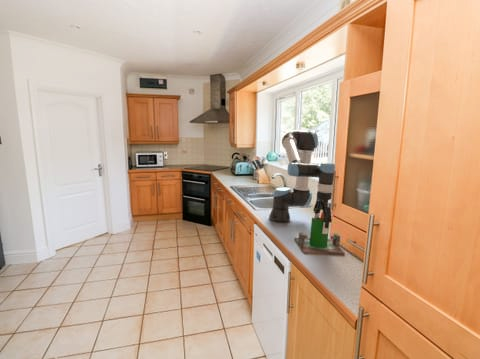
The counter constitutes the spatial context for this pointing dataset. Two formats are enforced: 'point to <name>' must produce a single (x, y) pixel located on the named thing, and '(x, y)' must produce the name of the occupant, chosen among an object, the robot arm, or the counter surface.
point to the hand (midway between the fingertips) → (320, 228)
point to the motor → (318, 233)
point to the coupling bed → (329, 250)
